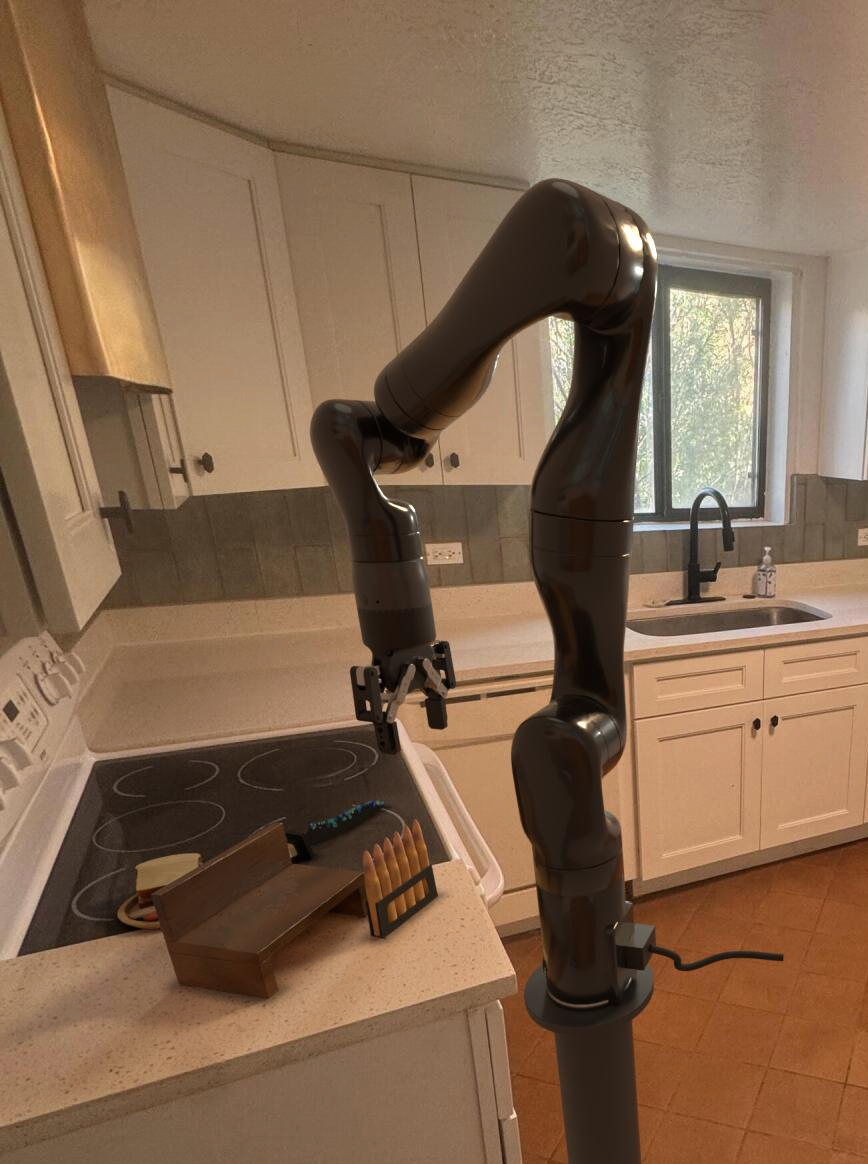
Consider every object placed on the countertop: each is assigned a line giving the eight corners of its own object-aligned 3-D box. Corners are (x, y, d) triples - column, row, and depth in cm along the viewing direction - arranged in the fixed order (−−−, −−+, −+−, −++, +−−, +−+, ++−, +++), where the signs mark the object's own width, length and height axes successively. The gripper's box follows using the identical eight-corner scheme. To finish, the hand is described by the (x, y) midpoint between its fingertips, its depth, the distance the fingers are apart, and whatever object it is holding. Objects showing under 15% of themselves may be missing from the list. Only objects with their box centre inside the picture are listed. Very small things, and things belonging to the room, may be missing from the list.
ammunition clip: (382, 939, 98) (366, 855, 94) (370, 936, 98) (353, 852, 94) (438, 895, 107) (425, 817, 103) (427, 893, 108) (414, 815, 104)
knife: (236, 893, 106) (232, 862, 104) (219, 889, 106) (215, 858, 105) (399, 819, 134) (398, 795, 132) (385, 817, 135) (383, 792, 133)
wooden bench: (372, 911, 104) (356, 830, 100) (268, 998, 87) (244, 906, 83) (293, 901, 106) (274, 822, 102) (178, 984, 90) (150, 894, 85)
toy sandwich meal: (108, 942, 97) (96, 909, 95) (134, 890, 109) (124, 860, 107) (226, 918, 102) (217, 887, 100) (239, 871, 114) (231, 842, 112)
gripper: (378, 615, 77) (403, 766, 83) (463, 591, 90) (479, 723, 96) (315, 611, 79) (344, 759, 85) (407, 588, 92) (426, 718, 98)
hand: (415, 740), depth 91 cm, fingers open, 8 cm apart
